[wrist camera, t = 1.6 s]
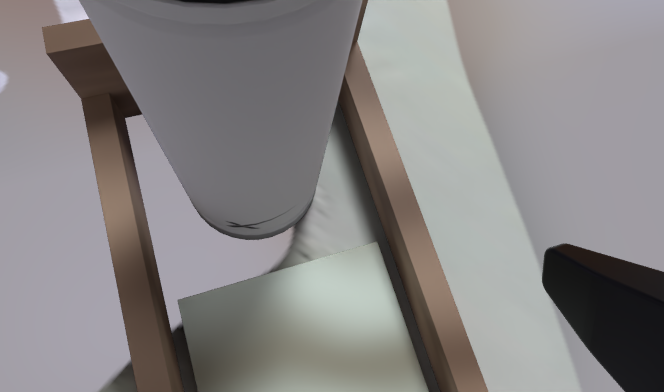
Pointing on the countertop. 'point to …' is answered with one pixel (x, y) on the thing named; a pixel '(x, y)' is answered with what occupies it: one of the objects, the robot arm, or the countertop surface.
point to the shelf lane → (280, 286)
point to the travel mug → (235, 97)
